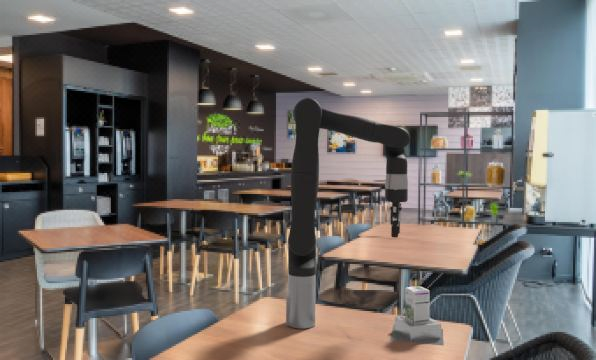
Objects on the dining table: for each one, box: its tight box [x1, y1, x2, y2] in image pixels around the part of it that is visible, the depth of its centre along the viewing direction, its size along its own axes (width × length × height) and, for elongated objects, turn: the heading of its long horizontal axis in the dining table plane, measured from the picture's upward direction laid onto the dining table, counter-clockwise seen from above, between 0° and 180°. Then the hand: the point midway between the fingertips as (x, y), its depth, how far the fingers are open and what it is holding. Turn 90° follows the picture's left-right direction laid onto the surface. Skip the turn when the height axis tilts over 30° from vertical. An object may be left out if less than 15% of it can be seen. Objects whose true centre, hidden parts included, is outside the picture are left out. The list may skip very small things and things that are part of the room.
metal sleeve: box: [394, 315, 442, 341], centre depth 164 cm, size 10×10×4 cm
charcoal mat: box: [389, 324, 445, 346], centre depth 165 cm, size 16×16×1 cm
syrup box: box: [404, 285, 431, 325], centre depth 164 cm, size 6×6×14 cm
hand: (395, 235), depth 178 cm, fingers open, 8 cm apart
